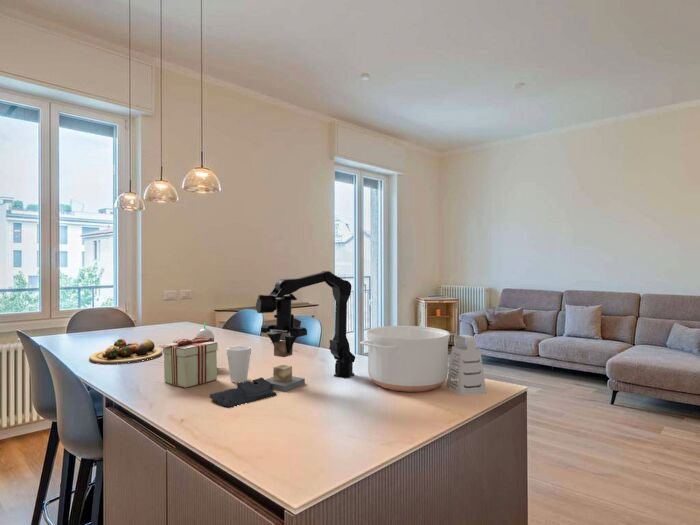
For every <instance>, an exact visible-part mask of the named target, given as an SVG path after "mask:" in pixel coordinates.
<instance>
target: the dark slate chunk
mask: <svg viewBox="0 0 700 525" xmlns="http://www.w3.org/2000/svg"><path fill="white" fill-rule="evenodd" d="M236 386H237V387H236V388H235V387H234V388H230V389H226V390H222V391H216V392H212V393H210V394H209V398H210V400H213V401H215V402H217V404H218V405H220V406H222V407H224V406H225V407H224V408H228V407H229V409H231V408H230V407H232V408H235V407H234V406H236V407H238V406H237V405H239V406H242V405H241V404H243V405H246V404H245V403H247V404H250V402H251V403H254V401H255V402H258V401H261V399H262V400H264V398H265V399H267V398H268V397H269V398H272V397H274V396H275V395H276V396H277V394H278V393H277V392H275V391H274V389H272V386H273V385H272V384H271V383H270V382H268V381H266V379H265V378H263V377H259V378H255V379H252V381H248V380H247V381H245V382H240V383H236ZM276 393H277V394H276ZM271 396H272V397H271ZM257 400H258V401H257Z"/></svg>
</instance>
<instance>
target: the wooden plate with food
mask: <svg viewBox="0 0 700 525" xmlns="http://www.w3.org/2000/svg"><path fill="white" fill-rule="evenodd" d="M155 346H156V345H155V343H154V342H153V341H152V340H150V339H148V338H146V339H145V340H144V341H143V342H142V343H140V344H139V343H137V342H131V343H127V342H126V340H125V339H124V338H119V339H117V340H115V341H114V343H113V345H110V346H107V347H106V349H105V350H100V351H98V352H97V351H96V352H94V353H92V354H90V356H89V358H88V361H89V362H90V361H91V362H90V363H92V362H93V364H96V363H101V364H100V365H118V364H117V363H127V364H129V363H128V362H136V363H138V362H137V361H142V360H147V359H151V358H155V357H157V358H159V357H160V356H161V355H162V354H163V350H162V348H161V349H160V347H155ZM158 356H159V357H158ZM155 359H156V358H155ZM151 360H152V359H151ZM147 361H148V360H147ZM142 362H143V361H142Z"/></svg>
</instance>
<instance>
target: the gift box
mask: <svg viewBox="0 0 700 525" xmlns="http://www.w3.org/2000/svg"><path fill="white" fill-rule="evenodd" d="M210 341H211V340H210V339H208V338H207V337H206V336H198V337H196V338H195V337H194V338H193V339H188V338H180V339H175V340H173V341H172V343H168V344H163V345H159V346H158V348H161V349H162V354H163V362H164V364H163V365H164V370H163V372H164V376H163V377H164V379H163V380H164V383H165V382H167V383H166V384H169V383H170V384H169V385H172V384H173V386H177V387H181V388H184V389H186V388H191V387H195V386H198V385H202V384H206V383H209V382H213V381H216V380H217V379H218V367H217V366H218V365H217V364H218V361H217V360H218V359H217V351H218V350H219V349H218V348H219V347H218V342H215V341H214V342H210Z"/></svg>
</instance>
